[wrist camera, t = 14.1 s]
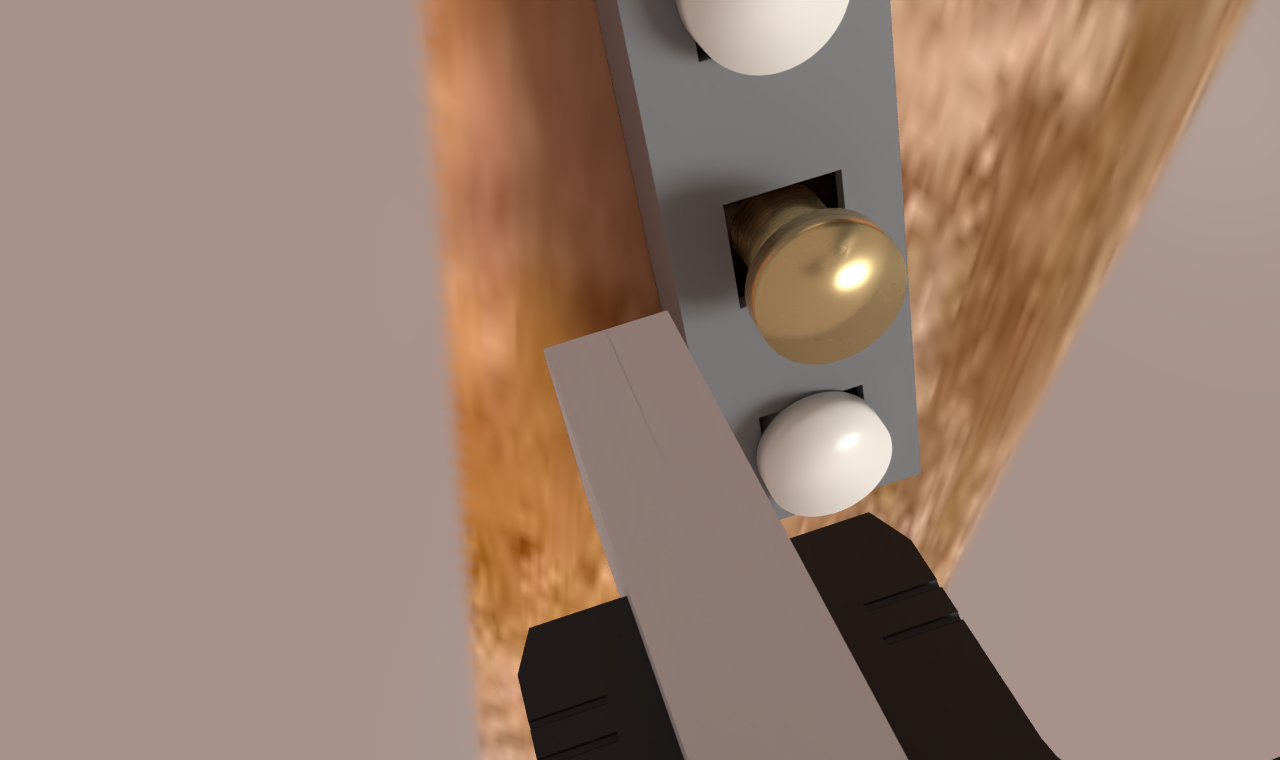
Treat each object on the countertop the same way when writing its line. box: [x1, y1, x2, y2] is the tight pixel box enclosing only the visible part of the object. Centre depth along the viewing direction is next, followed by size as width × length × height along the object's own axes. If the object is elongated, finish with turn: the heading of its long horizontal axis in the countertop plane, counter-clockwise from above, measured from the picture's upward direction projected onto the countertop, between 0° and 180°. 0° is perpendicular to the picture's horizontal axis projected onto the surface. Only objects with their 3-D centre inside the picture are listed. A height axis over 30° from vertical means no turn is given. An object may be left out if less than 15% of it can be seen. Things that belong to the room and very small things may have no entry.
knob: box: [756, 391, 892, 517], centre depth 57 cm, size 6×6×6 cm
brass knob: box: [731, 182, 907, 365], centre depth 48 cm, size 6×6×6 cm
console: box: [594, 0, 921, 520], centre depth 51 cm, size 10×30×5 cm, turn 12°
